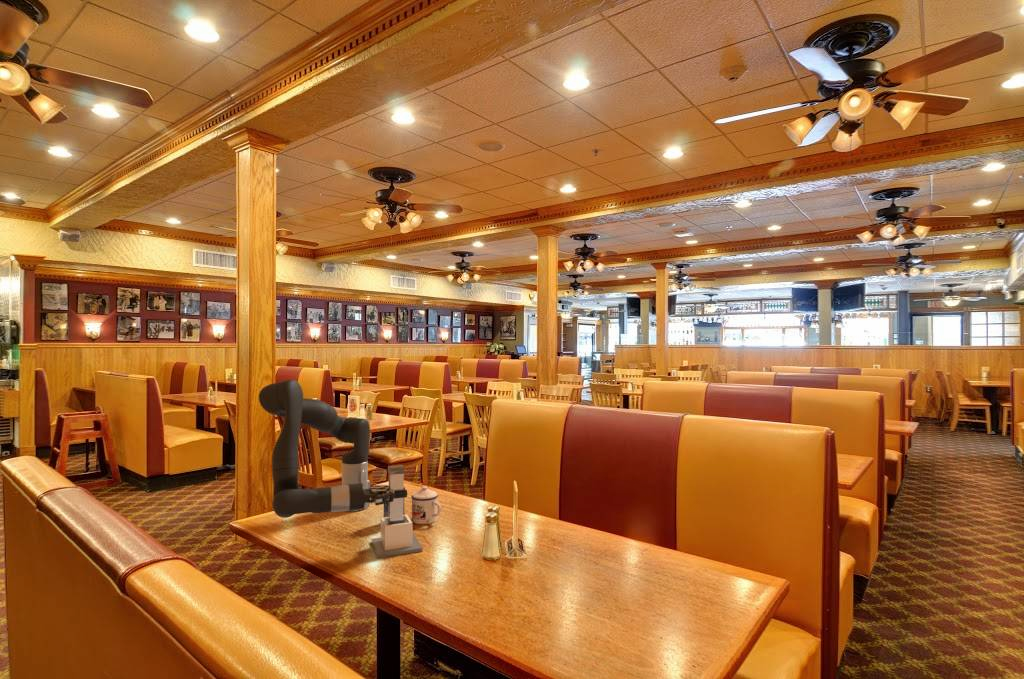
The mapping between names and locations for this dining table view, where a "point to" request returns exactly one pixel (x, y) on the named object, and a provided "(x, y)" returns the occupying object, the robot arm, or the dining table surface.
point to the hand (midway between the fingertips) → (405, 491)
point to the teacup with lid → (425, 506)
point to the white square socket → (396, 539)
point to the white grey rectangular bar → (398, 504)
